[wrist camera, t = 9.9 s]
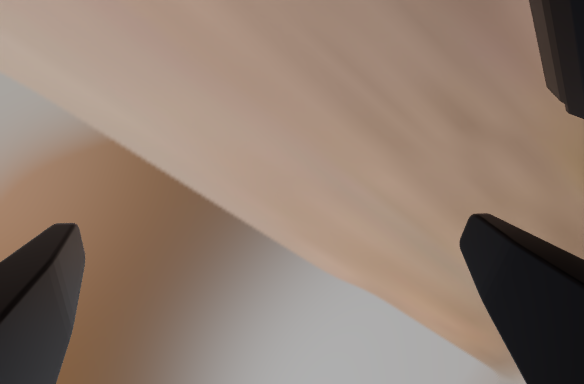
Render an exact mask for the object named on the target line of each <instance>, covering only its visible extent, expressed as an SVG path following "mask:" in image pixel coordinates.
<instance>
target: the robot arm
mask: <svg viewBox="0 0 584 384" xmlns="http://www.w3.org/2000/svg"><path fill="white" fill-rule="evenodd" d="M529 3H530V7H531V12H532V17H533V22H534V27H535V32H536V37H537V42H538V47H539V51H540V56H541V61H542V66H543V71H544V76H545V81H546V86H547V88H548V89H549V90H550V91H551V92H552V93H553V94H554V95H555V96H556V97H557V98H558V99H559V100H560V101H561V102H563V103H564V104H565V107H566V111H567V112H568V113H569V114H572V115H574V116H577V117H580V118H582V119H584V0H529ZM460 249H461V252H462V254H463V257H464V259H465V261H466V264H467V266H468V269H469V271H470V273H471V276H472V278H473V281H474V283H475V285H476V288H477V290H478V293H479V295H480V297H481V299H482V302H483V304H484V305H485V307H486V309H487V311H488V313H489V315H490V317H491V319H492V321H493V322H494V324H495V326H496V328H497V330H498V332H499V334H500V335H501V337H502V339H503V341H504V343H505V345H506V347H507V348H508V350H509V352H510V354H511V356H512V358H513V359H514V361H515V363H516V365H517V367H518V369H519V371H520V372H521V374H522V376H523V378H524V380H525V382H526V384H584V260H583V259H581V258H579V257H577V256H575V255H573V254H571V253H569V252H567V251H565V250H562V249H560V248H558V247H556V246H554V245H552V244H550V243H548V242H546V241H544V240H542V239H540V238H538V237H536V236H534V235H532V234H530V233H528V232H526V231H524V230H522V229H519V228H517V227H515V226H513V225H511V224H509V223H507V222H505V221H503V220H501V219H499V218H497V217H495V216H493V215H491V214H487V213H483V214H473V215H471V216H470V217H469V219H468V221H467V224H466V226H465V229H464V231H463V233H462V236H461V238H460ZM84 266H85V252H84V248H83V243H82V240H81V235H80V230H79V227H78V225H77V224H75V223H57V224H54V225H52V226H51V227H49V228H48V229H46V230H45V231H43V232H42V233H41V234H39V235H38V236H36V237H35V238H34V239H32V240H31V241H29V242H28V243H27V244H25V245H24V246H22V247H21V248H20V249H18V250H17V251H15V252H14V253H13V254H11V255H10V256H9V257H7V258H6V259H4V260H3V261H2V262H0V384H56V381H57V378H58V375H59V372H60V369H61V366H62V363H63V359H64V356H65V353H66V350H67V347H68V344H69V340H70V337H71V334H72V330H73V325H74V320H75V315H76V310H77V304H78V299H79V293H80V288H81V282H82V277H83V272H84Z"/></svg>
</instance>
